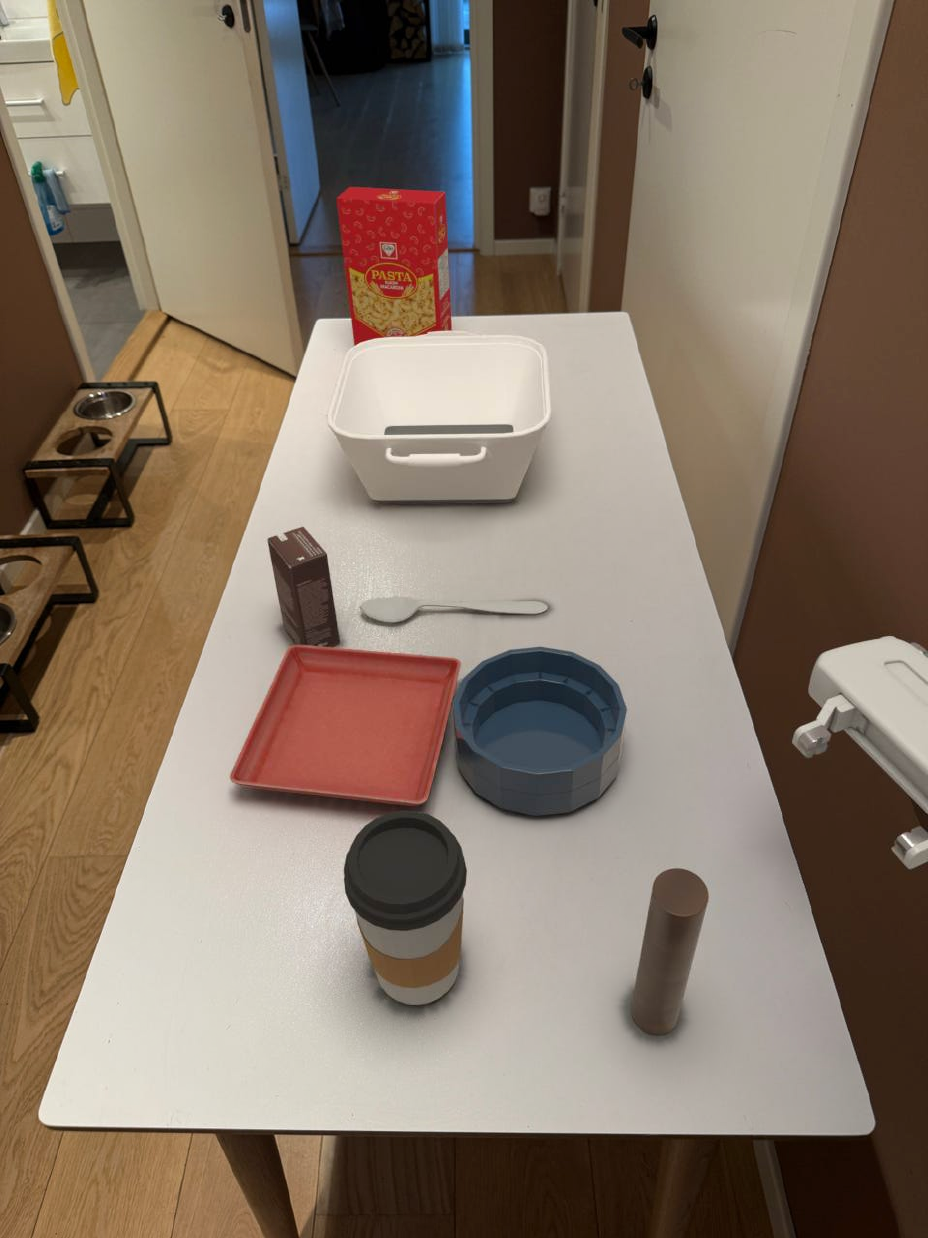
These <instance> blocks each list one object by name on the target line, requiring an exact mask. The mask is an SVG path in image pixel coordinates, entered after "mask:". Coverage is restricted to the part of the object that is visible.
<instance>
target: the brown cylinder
mask: <svg viewBox="0 0 928 1238" xmlns="http://www.w3.org/2000/svg"><path fill="white" fill-rule="evenodd" d="M650 894H651V895H650V900H649V906H648V910H647V915H646V922H645V928H644V934H643V939H642V944H641V950H640V956H639V960H638V967H637V972H636V978H635V982H634V990H633V995H632V1000H631V1005H630V1012H631V1013H630V1014H631V1017H632V1019H633V1021H634V1023H635V1025H637V1026H636V1027H638V1028H639V1029H641V1030H642V1031H643V1032H645V1033H647V1034H649V1035H653V1036H663V1035H665V1034H668V1033H670V1032H671V1031H672V1030H673V1029H674V1028H675V1027H676V1026H677V1023H678V1021H679V1016H680V1012H681V1008H682V1004H683V1001H684V997H685V993H686V988H687V985H688V981H689V977H690V973H691V970H692V965H693V962H694V957H695V955H696V949H697V946H698V942H699V938H700V936H701V935H700V934H701V930H702V926H703V924H704V923H703V922H704V918H705V915H706V911H707V907H708V903H709V899H710V898H709V895H710V894H709V890H708V887H707V885H706V883H705V882H704V880H703V879H702V878H701V877H700V876H698V874H696V873H695V872H693V871H691V870H688V869H685V868H679V867H675V868H669V869H666V870H664V871H662V872H660V873H659V874H658V875H657V876H656V877H655V879H654V881H653V884H652V888H651V893H650Z"/></svg>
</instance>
